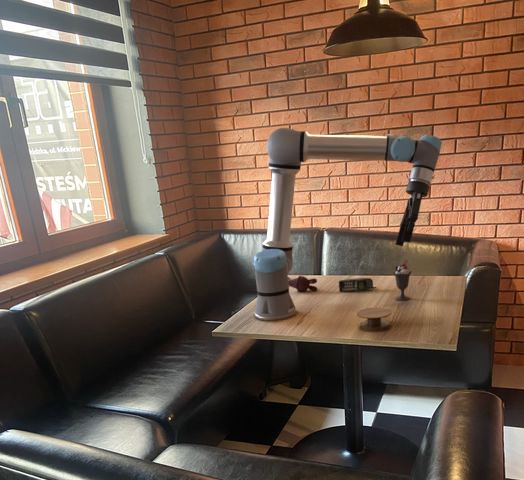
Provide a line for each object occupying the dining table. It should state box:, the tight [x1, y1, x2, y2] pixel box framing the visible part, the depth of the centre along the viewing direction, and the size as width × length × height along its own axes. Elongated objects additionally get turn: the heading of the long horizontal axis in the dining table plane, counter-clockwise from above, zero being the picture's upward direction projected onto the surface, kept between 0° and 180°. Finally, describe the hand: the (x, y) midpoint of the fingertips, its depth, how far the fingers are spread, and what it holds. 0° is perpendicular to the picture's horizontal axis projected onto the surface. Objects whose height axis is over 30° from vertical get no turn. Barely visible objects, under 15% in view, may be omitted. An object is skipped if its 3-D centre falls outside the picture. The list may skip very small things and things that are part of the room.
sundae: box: [392, 259, 413, 302], centre depth 199 cm, size 7×7×15 cm
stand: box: [356, 307, 392, 333], centre depth 174 cm, size 11×11×5 cm
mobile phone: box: [338, 277, 377, 293], centre depth 218 cm, size 5×3×15 cm
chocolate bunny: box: [288, 275, 318, 293], centre depth 227 cm, size 7×7×15 cm
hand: (402, 243), depth 188 cm, fingers open, 13 cm apart
